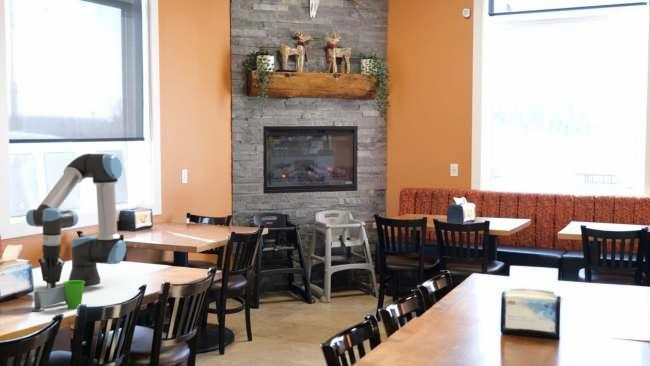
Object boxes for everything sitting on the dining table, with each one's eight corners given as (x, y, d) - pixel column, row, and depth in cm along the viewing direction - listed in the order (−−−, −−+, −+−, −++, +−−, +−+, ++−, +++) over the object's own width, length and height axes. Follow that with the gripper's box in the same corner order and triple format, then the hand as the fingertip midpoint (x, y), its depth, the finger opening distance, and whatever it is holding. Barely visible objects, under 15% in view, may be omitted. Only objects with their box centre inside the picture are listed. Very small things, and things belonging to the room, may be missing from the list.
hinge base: (37, 308, 329) (37, 306, 329) (46, 309, 327) (46, 308, 327) (28, 311, 325) (28, 309, 324) (37, 312, 323) (37, 310, 322)
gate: (37, 309, 324) (37, 292, 324) (33, 308, 325) (33, 292, 325) (67, 301, 340) (67, 285, 339) (63, 300, 341) (63, 284, 340)
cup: (59, 309, 328) (58, 283, 328) (70, 304, 337) (70, 279, 337) (78, 310, 327) (78, 284, 326) (89, 305, 335) (89, 280, 335)
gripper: (33, 243, 334) (33, 297, 336) (56, 246, 329) (56, 301, 331) (46, 241, 341) (46, 294, 343) (69, 244, 336) (68, 297, 337)
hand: (51, 297), depth 337 cm, fingers closed
